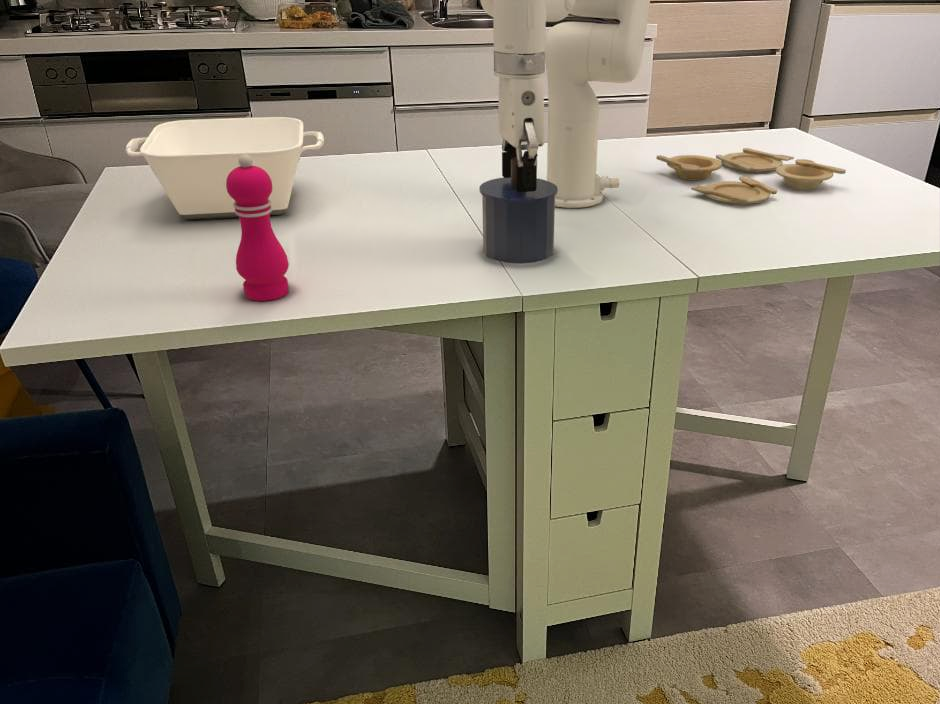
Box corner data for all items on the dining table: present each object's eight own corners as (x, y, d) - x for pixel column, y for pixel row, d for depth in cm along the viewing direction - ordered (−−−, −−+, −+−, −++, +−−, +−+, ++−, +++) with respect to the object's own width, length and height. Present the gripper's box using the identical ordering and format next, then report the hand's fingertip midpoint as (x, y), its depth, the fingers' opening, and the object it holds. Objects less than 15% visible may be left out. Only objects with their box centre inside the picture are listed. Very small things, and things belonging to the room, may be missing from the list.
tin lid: (544, 181, 139) (544, 146, 136) (568, 203, 129) (569, 167, 126) (471, 186, 136) (470, 151, 133) (490, 209, 125) (489, 172, 123)
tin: (541, 239, 143) (542, 178, 138) (562, 262, 134) (564, 198, 129) (476, 244, 140) (475, 183, 135) (493, 269, 131) (492, 204, 126)
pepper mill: (247, 283, 125) (223, 148, 114) (296, 282, 125) (276, 147, 115) (236, 303, 119) (209, 162, 108) (288, 302, 119) (266, 161, 109)
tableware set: (756, 154, 195) (759, 136, 192) (856, 187, 173) (860, 167, 171) (636, 173, 179) (638, 154, 177) (729, 212, 158) (732, 191, 155)
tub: (129, 233, 142) (110, 157, 136) (153, 188, 164) (138, 121, 158) (332, 221, 149) (323, 149, 142) (329, 179, 171) (322, 115, 165)
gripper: (562, 73, 116) (558, 198, 125) (527, 54, 130) (526, 167, 139) (510, 75, 114) (510, 202, 123) (480, 55, 128) (482, 170, 137)
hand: (518, 183), depth 131 cm, fingers open, 7 cm apart
